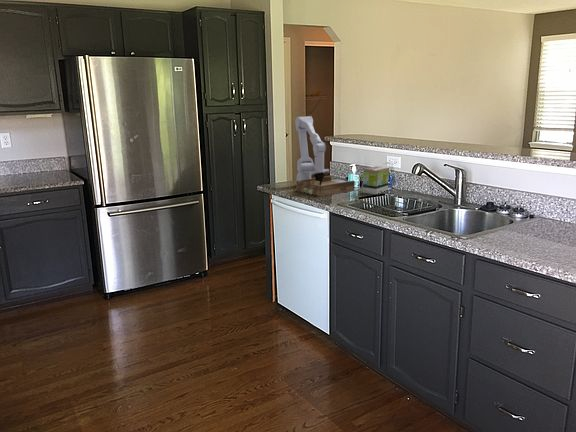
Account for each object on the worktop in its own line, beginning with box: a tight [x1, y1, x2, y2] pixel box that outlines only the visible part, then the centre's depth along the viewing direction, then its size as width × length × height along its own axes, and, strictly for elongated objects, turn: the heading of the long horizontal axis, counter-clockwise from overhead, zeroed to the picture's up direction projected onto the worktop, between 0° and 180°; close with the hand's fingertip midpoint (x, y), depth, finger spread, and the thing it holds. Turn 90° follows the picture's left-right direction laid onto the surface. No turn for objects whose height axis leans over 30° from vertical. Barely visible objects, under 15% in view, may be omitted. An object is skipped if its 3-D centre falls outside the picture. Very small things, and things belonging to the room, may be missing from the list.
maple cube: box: [310, 180, 320, 186], centre depth 309 cm, size 4×4×4 cm
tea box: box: [362, 165, 390, 195], centre depth 309 cm, size 15×10×15 cm, turn 143°
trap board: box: [296, 175, 356, 197], centre depth 315 cm, size 22×28×6 cm
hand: (319, 185), depth 311 cm, fingers closed
